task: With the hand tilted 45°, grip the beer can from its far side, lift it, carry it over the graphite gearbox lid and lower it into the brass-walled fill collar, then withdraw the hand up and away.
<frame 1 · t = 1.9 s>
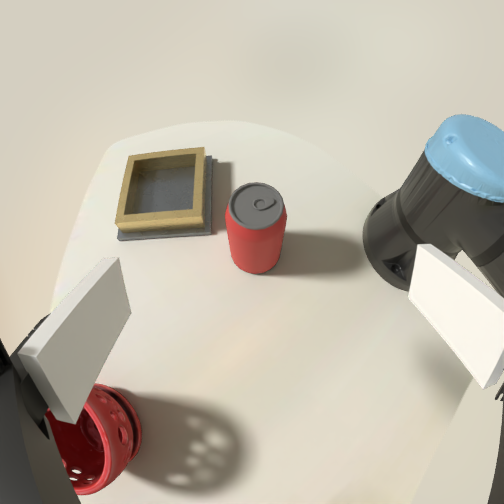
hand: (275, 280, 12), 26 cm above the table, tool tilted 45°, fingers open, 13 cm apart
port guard: (166, 196, 45), on the table
plant pot: (107, 427, 31), on the table
beer can: (255, 252, 41), on the table
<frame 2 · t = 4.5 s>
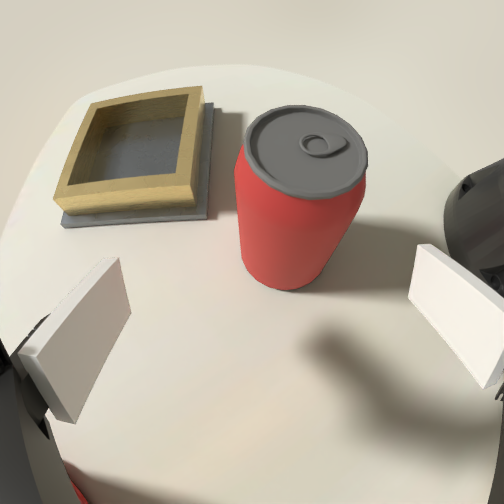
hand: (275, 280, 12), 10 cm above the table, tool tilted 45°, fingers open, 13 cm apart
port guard: (140, 160, 27), on the table
beer can: (283, 252, 23), on the table
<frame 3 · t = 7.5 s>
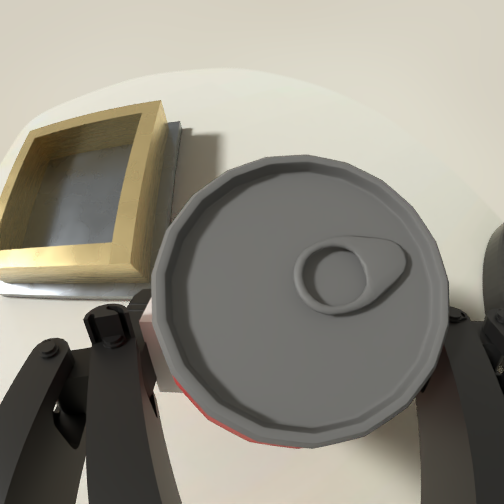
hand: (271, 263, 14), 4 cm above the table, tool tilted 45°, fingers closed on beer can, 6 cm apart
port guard: (84, 207, 20), on the table
beer can: (271, 349, 16), on the table, touching gripper
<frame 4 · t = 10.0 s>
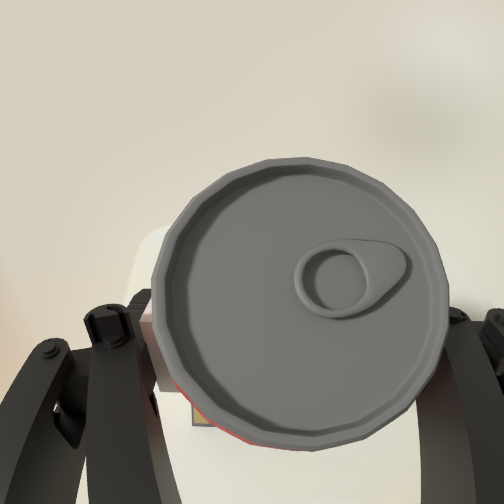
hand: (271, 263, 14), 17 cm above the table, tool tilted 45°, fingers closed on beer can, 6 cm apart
beer can: (271, 350, 16), point 13 cm above the table, touching gripper
when the fingers open (6 cm above the table, at t = 12.7 s): beer can drops 2 cm, resting on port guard.
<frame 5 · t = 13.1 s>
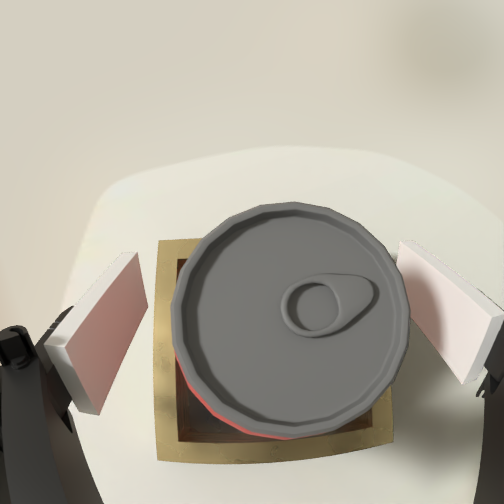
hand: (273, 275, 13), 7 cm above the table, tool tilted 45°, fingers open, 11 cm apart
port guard: (269, 352, 18), on the table
beer can: (271, 353, 17), point 1 cm above the table, touching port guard
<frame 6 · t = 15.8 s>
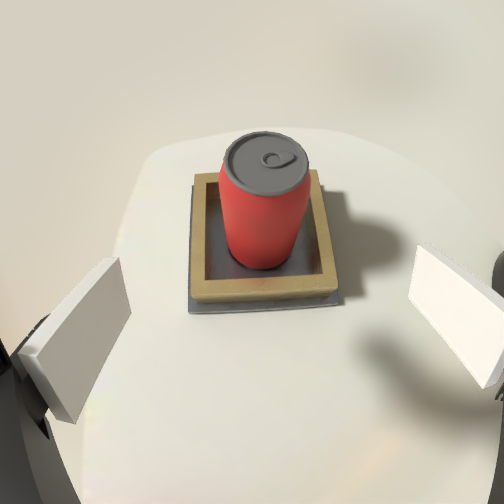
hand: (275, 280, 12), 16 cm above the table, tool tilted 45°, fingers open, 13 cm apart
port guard: (259, 242, 31), on the table
beer can: (260, 241, 30), point 1 cm above the table, touching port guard
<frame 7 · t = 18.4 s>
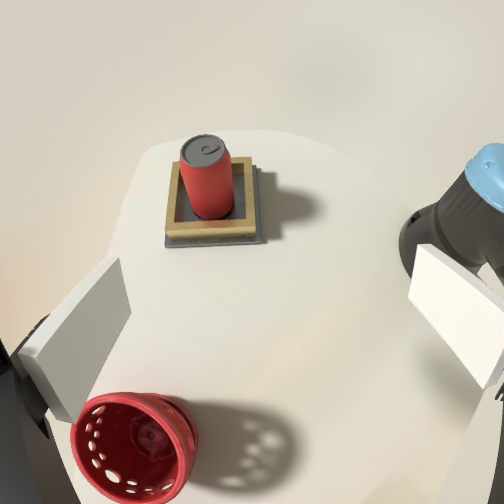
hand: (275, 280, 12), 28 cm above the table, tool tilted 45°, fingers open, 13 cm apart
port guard: (213, 204, 46), on the table
plant pot: (157, 436, 33), on the table
beer can: (213, 203, 46), point 1 cm above the table, touching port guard
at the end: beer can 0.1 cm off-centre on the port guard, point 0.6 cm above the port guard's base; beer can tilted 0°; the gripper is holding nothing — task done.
